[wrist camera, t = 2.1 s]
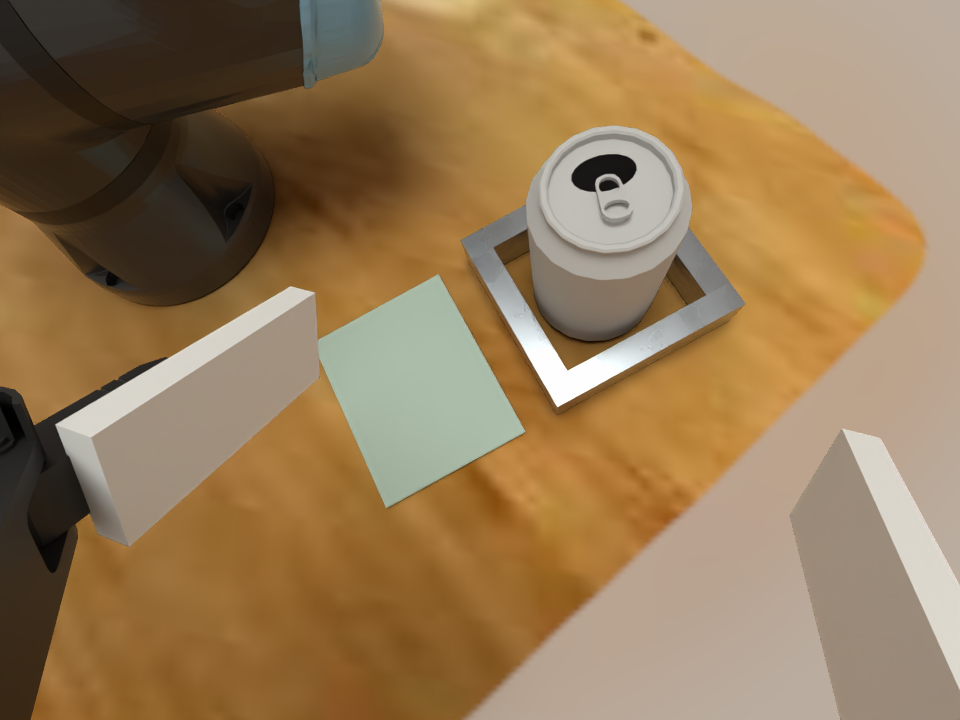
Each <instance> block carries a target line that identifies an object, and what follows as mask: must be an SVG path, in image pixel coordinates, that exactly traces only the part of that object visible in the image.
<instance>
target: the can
mask: <svg viewBox="0 0 960 720" xmlns="http://www.w3.org/2000/svg"><path fill="white" fill-rule="evenodd" d="M691 212H692V203H691V196H690V189H689V185H688V183H687V181H686V179H685V177H684V175H683V170H682V168H681V166H680V164H679V163H678V161H677V159H676V157H675V155H674V154H673V152H672V151H671V150H670V149H669V148H668V147H667V146H665V145H664V144H663V143H662V142H661V141H660V140H659V139H658V138H656V137H654V136H652V135H650V134H647V133H645V132H643V131H641V130H639V129H635V128H629V127H622V126H616V125H614V126H605V127H596V128H591V129H589V130H586V131H584V132H581V133H579V134H576V135H574V136H572V137H571V138H569V139H568V140H567V141H565V142H564V143H563V144H561V145H560V146H559V147H557V148H556V149H555V151H554V152H553V153H552V155H551V156H550V158H549V159H548V160H546V161H545V163H544V164H543V165H542V167H541V168H540V170H539V171H538V172H537V174H536V175H535V177H534V178H533V179H532V183H531V186H530V189H529V193H528V196H527V199H526V213H527V228H528V238H529V248H530V258H531V268H532V278H533V288H534V298H535V300H536V302H537V305H538V307H539V310H540V312H541V314H542V315H543V316H544V317H545V319H546V320H547V321H548V322H549V323H550V324H551V325H552V327H554V328H555V329H557V330H559V331H560V332H562V333H564V334H565V335H567V336H569V337H572V338H577V339H581V340H585V341H599V340H609V339H611V338H614V337H617V336H619V335H622V334H625V333H626V332H628V331H629V330H630V329H632V328H633V327H634V326H635V325H637V324H638V323H639V322H640V321H641V320H642V318H643V317H644V315H645V314H646V312H647V311H648V309H649V307H650V306H651V304H652V302H653V300H654V298H655V296H656V294H657V292H658V290H659V288H660V286H661V284H662V282H663V280H664V278H665V275H666V273H667V271H668V269H669V267H670V265H671V263H672V261H673V259H674V257H675V255H676V253H677V251H678V249H679V247H680V245H681V243H682V241H683V239H684V237H685V235H686V233H687V230H688V226H689V221H690V217H691Z"/></svg>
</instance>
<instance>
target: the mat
mask: <svg viewBox="0 0 960 720" xmlns="http://www.w3.org/2000/svg"><path fill="white" fill-rule="evenodd" d="M318 354H319V359H320V361H321V363H322V365H323V368H324V370H325V372H326V374H327V377H328V379H329V381H330V383H331V385H332V388H333V390H334V392H335V394H336V397H337V399H338V401H339V403H340V406H341V408H342V410H343V412H344V415H345V417H346V419H347V421H348V424H349V426H350V428H351V430H352V433H353V435H354V437H355V439H356V442H357V444H358V446H359V448H360V451H361V453H362V455H363V457H364V459H365V462H366V464H367V466H368V468H369V471H370V473H371V475H372V477H373V480H374V482H375V484H376V486H377V489H378V491H379V493H380V495H381V498H382V500H383V502H384V504H385V507H386V508H389V507H390V506H392V505H394V504H396V503H398V502H400V501H401V500H403V499H405V498H407V497H409V496H411V495H412V494H414V493H416V492H418V491H420V490H421V489H423V488H425V487H427V486H429V485H431V484H432V483H434V482H436V481H438V480H440V479H442V478H443V477H445V476H447V475H449V474H451V473H452V472H454V471H456V470H458V469H460V468H462V467H463V466H465V465H467V464H469V463H471V462H473V461H474V460H476V459H478V458H480V457H482V456H483V455H485V454H487V453H489V452H491V451H493V450H494V449H496V448H498V447H500V446H502V445H504V444H505V443H507V442H509V441H511V440H513V439H515V438H516V437H518V436H520V435H522V434H524V433H525V430H524V428H523V426H522V425H521V423H520V421H519V419H518V417H517V416H516V414H515V412H514V410H513V408H512V406H511V405H510V403H509V401H508V399H507V397H506V396H505V394H504V392H503V390H502V388H501V387H500V385H499V383H498V381H497V379H496V378H495V376H494V374H493V372H492V370H491V368H490V367H489V365H488V363H487V361H486V359H485V358H484V356H483V354H482V352H481V350H480V349H479V347H478V345H477V343H476V341H475V339H474V338H473V336H472V334H471V332H470V330H469V329H468V327H467V325H466V323H465V321H464V320H463V318H462V316H461V314H460V312H459V311H458V309H457V307H456V305H455V303H454V301H453V300H452V298H451V296H450V294H449V292H448V291H447V289H446V287H445V285H444V283H443V282H442V280H441V278H440V276H439V274H438V275H436V276H434V277H432V278H431V279H429V280H427V281H425V282H423V283H421V284H420V285H418V286H416V287H414V288H412V289H410V290H409V291H407V292H405V293H403V294H401V295H399V296H398V297H396V298H394V299H392V300H390V301H388V302H387V303H385V304H383V305H381V306H379V307H377V308H376V309H374V310H372V311H370V312H368V313H366V314H365V315H363V316H361V317H359V318H357V319H355V320H354V321H352V322H350V323H348V324H346V325H344V326H343V327H341V328H339V329H337V330H335V331H333V332H332V333H330V334H328V335H326V336H324V337H322V338H321V339H319V340H318Z"/></svg>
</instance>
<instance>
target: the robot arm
mask: <svg viewBox="0 0 960 720" xmlns="http://www.w3.org/2000/svg"><path fill="white" fill-rule="evenodd" d="M383 34H384V23H383V13H382V5H381V0H0V204H1V205H3V206H5V207H7V208H9V209H11V210H12V211H14V212H16V213H18V214H20V215H22V216H24V217H25V218H27V219H29V220H31V221H32V222H34V223H35V224H36V225H37V226H38V228H39V229H40V230H41V231H42V232H43V233H44V234H45V235H46V236H47V237H48V238H49V239H50V240H51V241H52V242H53V243H54V244H55V245H56V246H57V247H58V248H59V249H60V250H61V251H62V252H63V253H64V254H65V255H66V256H67V258H68V259H69V260H70V261H71V262H72V263H73V264H74V265H75V266H76V267H77V268H78V269H79V270H80V271H81V272H82V273H83V274H84V275H85V276H86V277H88V278H89V279H90V280H91V281H93V282H94V283H96V284H97V285H99V286H101V287H102V288H104V289H106V290H108V291H111V292H113V293H115V294H117V295H119V296H121V297H123V298H125V299H127V300H130V301H133V302H136V303H139V304H145V305H152V306H166V305H175V304H180V303H184V302H188V301H191V300H194V299H197V298H199V297H201V296H204V295H206V294H208V293H210V292H212V291H213V290H215V289H217V288H218V287H220V286H221V285H223V284H224V283H226V282H227V281H228V280H229V279H231V278H232V277H233V276H234V275H235V274H237V273H238V272H239V271H240V270H241V269H242V268H243V266H244V265H245V264H246V263H247V262H248V261H249V259H250V258H251V257H252V256H253V254H254V253H255V251H256V250H257V248H258V247H259V245H260V243H261V241H262V240H263V238H264V236H265V233H266V231H267V229H268V226H269V223H270V219H271V216H272V211H273V204H274V185H273V179H272V175H271V172H270V169H269V166H268V164H267V162H266V160H265V158H264V157H263V155H262V153H261V152H260V151H259V150H258V148H257V147H256V146H255V145H254V144H253V143H252V141H251V140H250V139H249V138H248V137H247V135H246V134H245V133H244V132H243V131H242V130H241V129H240V128H239V127H238V126H237V125H235V124H234V123H233V122H232V121H230V120H229V119H228V118H226V117H224V116H223V115H221V114H219V113H217V112H216V111H214V110H212V109H214V108H218V107H222V106H226V105H229V104H233V103H237V102H241V101H245V100H249V99H253V98H257V97H261V96H265V95H269V94H273V93H277V92H281V91H285V90H289V89H293V88H296V87H300V86H304V88H305V89H308V88H311V87H313V86H314V85H315V84H316V82H317V81H319V80H322V79H325V78H328V77H331V76H334V75H337V74H341V73H344V72H347V71H350V70H353V69H356V68H359V67H362V66H364V65H366V64H367V63H369V62H370V61H371V60H372V59H373V58H374V56H375V55H376V53H377V52H378V50H379V48H380V46H381V43H382V40H383ZM319 377H320V372H319V354H318V335H317V317H316V298H315V293H314V292H310V291H307V290H303V289H299V288H295V287H291V286H290V287H289V288H287V289H285V290H284V291H282V292H280V293H278V294H277V295H275V296H273V297H272V298H270V299H268V300H267V301H265V302H263V303H261V304H260V305H258V306H256V307H255V308H253V309H251V310H250V311H248V312H246V313H244V314H243V315H241V316H239V317H238V318H236V319H234V320H232V321H231V322H229V323H227V324H226V325H224V326H222V327H221V328H219V329H217V330H215V331H214V332H212V333H210V334H209V335H207V336H205V337H204V338H202V339H200V340H198V341H197V342H195V343H193V344H192V345H190V346H188V347H187V348H185V349H183V350H181V351H180V352H178V353H176V354H175V355H173V356H171V357H170V358H167V357H164V358H161V359H158V360H155V361H152V362H149V363H146V364H143V365H140V366H138V367H136V368H134V369H133V370H131V371H129V372H127V373H126V374H124V375H122V376H120V377H119V379H118V380H117V381H116V380H113V381H112V382H110V383H108V384H106V385H105V386H103V387H101V390H100V391H99V390H96V391H94V392H92V393H91V394H89V395H87V396H85V397H84V398H82V399H80V400H78V401H77V402H75V403H73V404H71V405H69V406H68V407H66V408H64V409H62V410H61V411H59V412H57V413H55V414H54V415H52V416H50V417H48V418H47V419H45V420H43V421H41V422H40V423H38V424H36V425H34V424H33V422H32V420H31V417H30V415H29V412H28V410H27V408H26V405H25V403H24V400H23V398H22V396H21V395H20V394H19V393H18V392H17V391H16V390H14V389H10V388H5V387H0V720H31V716H32V712H33V708H34V704H35V700H36V697H37V693H38V689H39V685H40V681H41V677H42V674H43V670H44V666H45V662H46V658H47V654H48V651H49V647H50V643H51V639H52V635H53V632H54V628H55V624H56V620H57V616H58V612H59V609H60V605H61V601H62V597H63V593H64V589H65V586H66V582H67V578H68V574H69V570H70V566H71V563H72V559H73V555H74V551H75V547H76V544H77V540H78V533H77V528H76V525H75V524H76V523H77V522H79V521H80V520H81V519H83V518H84V517H85V516H86V515H88V514H89V513H90V515H91V518H92V520H93V523H94V526H95V528H96V531H97V533H98V534H99V535H101V536H104V537H106V538H109V539H111V540H114V541H116V542H118V543H121V544H123V545H126V546H128V547H130V546H131V545H132V544H133V543H134V542H135V541H136V540H138V539H139V538H140V537H141V536H142V535H143V534H144V533H145V532H147V531H148V530H149V529H150V528H151V527H152V526H153V525H154V524H155V523H157V522H158V521H159V520H160V519H161V518H162V517H163V516H164V515H166V514H167V513H168V512H169V511H170V510H171V509H172V508H173V507H175V506H176V505H177V504H178V503H179V502H180V501H181V500H182V499H184V498H185V497H186V496H187V495H188V494H189V493H190V492H191V491H193V490H194V489H195V488H196V487H197V486H198V485H199V484H200V483H202V482H203V481H204V480H205V479H206V478H207V477H208V476H209V475H211V474H212V473H213V472H214V471H215V470H216V469H217V468H218V467H220V466H221V465H222V464H223V463H224V462H225V461H226V460H227V459H228V458H230V457H231V456H232V455H233V454H234V453H235V452H236V451H237V450H239V449H240V448H241V447H242V446H243V445H244V444H245V443H246V442H248V441H249V440H250V439H251V438H252V437H253V436H254V435H255V434H257V433H258V432H259V431H260V430H261V429H262V428H263V427H264V426H266V425H267V424H268V423H269V422H270V421H271V420H272V419H273V418H275V417H276V416H277V415H278V414H279V413H280V412H281V411H282V410H284V409H285V408H286V407H287V406H288V405H289V404H290V403H291V402H292V401H294V400H295V399H296V398H297V397H298V396H299V395H300V394H301V393H303V392H304V391H305V390H306V389H307V388H308V387H309V386H310V385H312V384H313V383H314V382H315V381H316V380H317V379H318V378H319ZM790 519H791V523H792V527H793V531H794V535H795V539H796V543H797V547H798V551H799V555H800V559H801V563H802V567H803V571H804V575H805V579H806V583H807V587H808V591H809V595H810V599H811V603H812V607H813V612H814V616H815V620H816V624H817V627H818V632H819V635H820V640H821V643H822V647H823V652H824V656H825V660H826V663H827V667H828V672H829V676H830V679H831V684H832V688H833V692H834V696H835V699H836V703H837V708H838V711H839V716H840V720H960V585H959V583H958V581H957V579H956V577H955V576H954V574H953V572H952V570H951V568H950V566H949V565H948V563H947V561H946V559H945V557H944V555H943V553H942V552H941V550H940V548H939V546H938V544H937V543H936V540H935V539H934V537H933V535H932V533H931V531H930V529H929V527H928V526H927V524H926V522H925V520H924V518H923V517H922V515H921V513H920V511H919V509H918V507H917V505H916V503H915V502H914V500H913V498H912V496H911V494H910V492H909V490H908V489H907V487H906V485H905V483H904V481H903V479H902V477H901V476H900V474H899V472H898V470H897V468H896V466H895V465H894V463H893V461H892V459H891V457H890V455H889V454H888V452H887V450H886V448H885V446H884V444H883V443H882V440H881V439H880V438H877V437H874V436H869V435H866V434H862V433H858V432H854V431H850V430H846V429H841V431H840V433H839V434H838V436H837V437H836V439H835V441H834V442H833V444H832V446H831V447H830V449H829V451H828V452H827V454H826V456H825V457H824V459H823V461H822V462H821V464H820V466H819V467H818V469H817V471H816V473H815V474H814V476H813V477H812V479H811V481H810V482H809V484H808V486H807V487H806V489H805V491H804V492H803V494H802V496H801V497H800V499H799V501H798V502H797V504H796V506H795V507H794V509H793V511H792V512H791V514H790Z"/></svg>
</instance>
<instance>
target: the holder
mask: <svg viewBox="0 0 960 720" xmlns="http://www.w3.org/2000/svg"><path fill="white" fill-rule="evenodd" d="M461 243H462V245H463V248H464V251H465V254H466V256H467V259H468V262H469V263H470V265H471V267H472V269H473V270H474V272H475V274H476V275H477V277H478V279H479V281H480V282H481V284H482V286H483V288H484V289H485V291H486V293H487V294H488V296H489V298H490V300H491V301H492V303H493V305H494V307H495V308H496V310H497V312H498V314H499V315H500V317H501V319H502V320H503V322H504V324H505V326H506V327H507V329H508V331H509V333H510V334H511V336H512V338H513V339H514V341H515V343H516V345H517V346H518V348H519V350H520V352H521V353H522V355H523V357H524V359H525V360H526V362H527V364H528V365H529V367H530V369H531V371H532V372H533V374H534V376H535V378H536V379H537V381H538V383H539V384H540V386H541V388H542V390H543V391H544V393H545V395H546V397H547V398H548V400H549V402H550V404H551V405H552V407H553V409H554V410H555V412H556V414H557V415H558V414H560V413H562V412H564V411H566V410H567V409H569V408H571V407H573V406H575V405H577V404H578V403H580V402H582V401H584V400H586V399H588V398H589V397H591V396H593V395H595V394H597V393H598V392H600V391H602V390H604V389H606V388H608V387H609V386H611V385H613V384H615V383H617V382H619V381H620V380H622V379H624V378H626V377H628V376H629V375H631V374H633V373H635V372H637V371H639V370H640V369H642V368H644V367H646V366H648V365H650V364H651V363H653V362H655V361H657V360H659V359H661V358H662V357H664V356H666V355H668V354H670V353H671V352H673V351H675V350H677V349H679V348H681V347H682V346H684V345H686V344H688V343H690V342H692V341H693V340H695V339H697V338H699V337H701V336H702V335H704V334H706V333H708V332H710V331H712V330H713V329H715V328H717V327H719V326H721V325H723V324H724V323H726V322H728V321H729V320H730V319H731V318H732V317H733V316H734V315H735V314H736V313H737V312H738V311H739V310H740V309H741V308H742V307H743V306H744V305H745V302H744V301H743V300H742V298H741V297H740V296H739V294H738V293H737V292H736V290H735V289H734V288H733V286H732V285H731V284H730V282H729V281H728V279H727V278H726V277H725V275H724V274H723V273H722V271H721V270H720V269H719V267H718V266H717V265H716V263H715V262H714V261H713V259H712V258H711V257H710V255H709V254H708V253H707V251H706V250H705V249H704V247H703V246H702V245H701V243H700V242H699V241H698V239H697V238H696V237H695V235H694V234H693V233H692V231H691V230H690V229H689V227H688V230H687V233H686V235H685V237H684V239H683V241H682V243H681V245H680V247H679V249H678V251H677V253H676V255H675V257H674V259H673V261H672V263H671V265H670V267H669V269H668V271H667V273H666V275H667V277H668V278H669V279H670V281H671V282H672V284H673V285H674V286H675V288H676V289H677V291H678V292H679V294H680V295H681V296H682V298H683V299H684V301H685V302H686V303H687V306H686V307H684V308H682V309H680V310H678V311H676V312H675V313H673V314H671V315H669V316H667V317H666V318H664V319H662V320H660V321H658V322H656V323H655V324H653V325H651V326H649V327H647V328H645V329H644V330H642V331H640V332H638V333H636V334H634V335H633V336H631V337H629V338H627V339H625V340H624V341H622V342H620V343H618V344H616V345H614V346H613V347H611V348H609V349H607V350H605V351H603V352H602V353H600V354H598V355H596V356H594V357H592V358H591V359H589V360H587V361H585V362H583V363H582V364H580V365H578V366H576V367H574V368H572V369H571V370H569V371H567V370H566V368H565V366H564V365H563V363H562V361H561V360H560V358H559V356H558V355H557V353H556V351H555V350H554V348H553V346H552V345H551V343H550V341H549V340H548V338H547V336H546V335H545V333H544V331H543V330H542V328H541V326H540V325H539V323H538V321H537V320H536V318H535V316H534V315H533V313H532V311H531V310H530V308H529V306H528V305H527V303H526V301H525V300H524V298H523V296H522V295H521V293H520V291H519V290H518V288H517V287H516V285H515V283H514V282H513V280H512V278H511V277H510V275H509V273H508V272H507V270H506V268H505V267H504V264H506V263H508V262H510V261H512V260H513V259H515V258H517V257H519V256H521V255H523V254H524V253H526V252H528V251H530V248H529V238H528V228H527V213H526V205H524V206H522V207H521V208H519V209H517V210H515V211H513V212H511V213H510V214H508V215H506V216H504V217H502V218H500V219H499V220H497V221H495V222H493V223H491V224H489V225H488V226H486V227H484V228H482V229H480V230H478V231H477V232H475V233H473V234H471V235H469V236H467V237H466V238H464V239H462V240H461Z"/></svg>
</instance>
